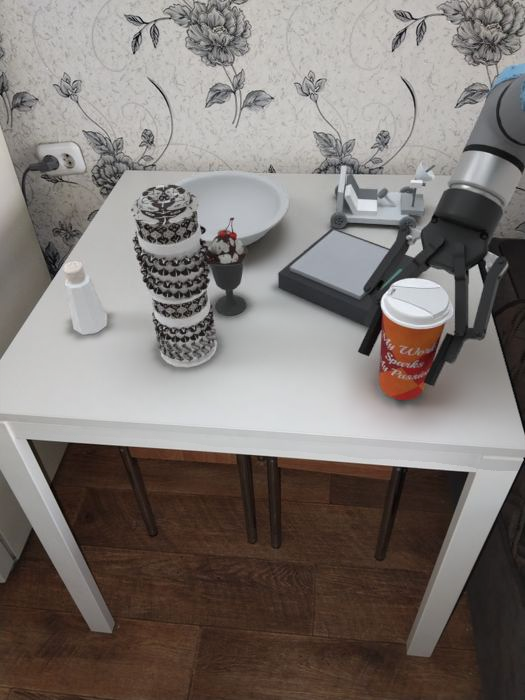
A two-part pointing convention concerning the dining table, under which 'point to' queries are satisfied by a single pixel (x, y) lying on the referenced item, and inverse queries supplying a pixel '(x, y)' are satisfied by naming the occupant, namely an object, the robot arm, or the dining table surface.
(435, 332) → the coffee cup
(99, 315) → the pepper shaker
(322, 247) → the scale
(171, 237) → the decorative candle
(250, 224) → the white bowl
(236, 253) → the sundae
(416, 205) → the toy car
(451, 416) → the dining table surface
